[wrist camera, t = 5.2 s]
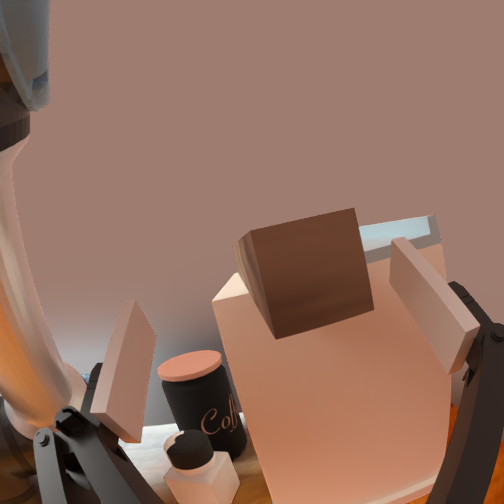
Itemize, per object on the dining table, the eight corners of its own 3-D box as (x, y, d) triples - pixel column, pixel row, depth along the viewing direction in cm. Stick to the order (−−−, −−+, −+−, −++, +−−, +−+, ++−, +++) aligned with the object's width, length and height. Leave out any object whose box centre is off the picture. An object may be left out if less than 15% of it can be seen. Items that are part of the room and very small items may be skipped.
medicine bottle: (241, 483, 35) (218, 424, 35) (226, 515, 29) (197, 456, 28) (199, 479, 37) (173, 422, 37) (180, 508, 30) (147, 450, 30)
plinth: (450, 482, 23) (455, 240, 22) (276, 538, 23) (196, 306, 23) (388, 403, 46) (366, 241, 46) (271, 436, 47) (228, 274, 46)
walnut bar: (374, 309, 11) (354, 207, 11) (275, 339, 11) (249, 230, 11) (266, 267, 43) (260, 239, 43) (238, 274, 43) (232, 245, 43)
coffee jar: (220, 474, 38) (184, 381, 38) (179, 455, 45) (144, 370, 44) (260, 439, 47) (235, 351, 46) (218, 428, 53) (191, 348, 53)
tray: (441, 242, 23) (435, 214, 23) (313, 277, 23) (306, 245, 23) (360, 242, 46) (357, 226, 46) (287, 260, 46) (283, 244, 46)
